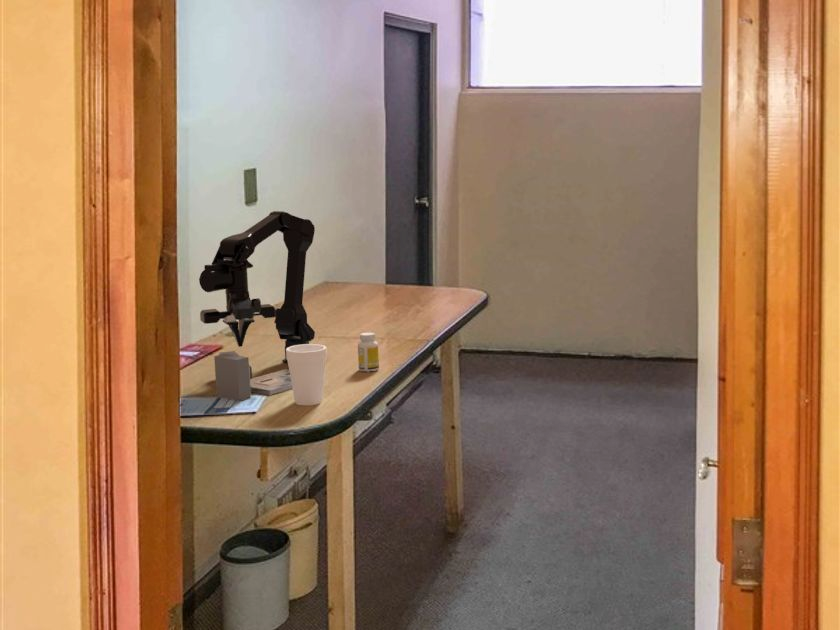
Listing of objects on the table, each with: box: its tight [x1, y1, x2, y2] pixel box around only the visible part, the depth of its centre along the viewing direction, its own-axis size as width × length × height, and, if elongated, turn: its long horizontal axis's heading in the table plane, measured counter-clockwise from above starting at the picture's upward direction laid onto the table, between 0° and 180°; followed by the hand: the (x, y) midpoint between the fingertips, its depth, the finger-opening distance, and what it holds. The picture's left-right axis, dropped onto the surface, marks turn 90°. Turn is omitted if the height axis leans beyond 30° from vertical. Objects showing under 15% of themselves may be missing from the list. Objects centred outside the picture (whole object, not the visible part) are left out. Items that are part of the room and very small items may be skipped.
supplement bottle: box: [357, 332, 380, 373], centre depth 277 cm, size 5×5×10 cm
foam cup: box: [286, 343, 328, 406], centre depth 246 cm, size 10×9×13 cm
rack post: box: [213, 354, 252, 402], centre depth 252 cm, size 4×8×10 cm, turn 53°
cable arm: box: [218, 350, 253, 394], centre depth 264 cm, size 22×4×7 cm, turn 21°
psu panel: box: [250, 368, 293, 396], centre depth 265 cm, size 18×13×2 cm
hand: (240, 346), depth 271 cm, fingers closed
